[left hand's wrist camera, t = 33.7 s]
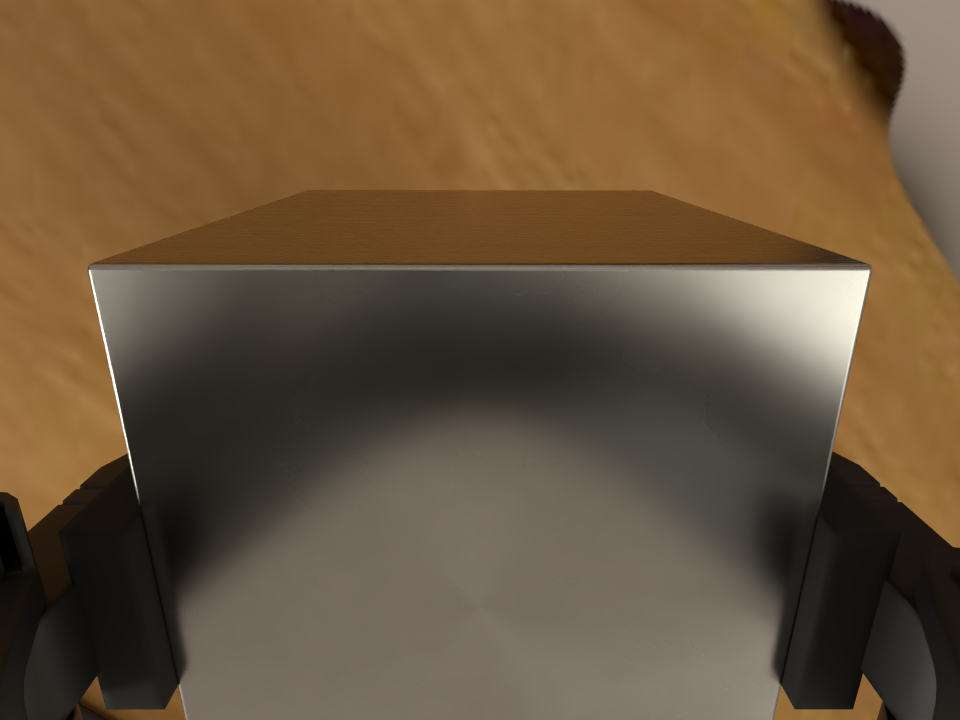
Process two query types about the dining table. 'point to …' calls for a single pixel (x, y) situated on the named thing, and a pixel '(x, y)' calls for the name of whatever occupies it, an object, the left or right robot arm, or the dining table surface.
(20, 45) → the dining table surface
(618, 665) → the grey metal cube
